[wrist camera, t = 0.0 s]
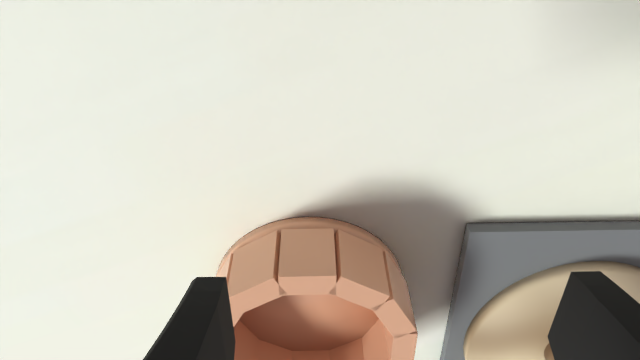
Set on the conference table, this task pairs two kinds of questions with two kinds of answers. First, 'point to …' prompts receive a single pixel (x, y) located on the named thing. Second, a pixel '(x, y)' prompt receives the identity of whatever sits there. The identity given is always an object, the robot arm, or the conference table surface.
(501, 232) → the mat
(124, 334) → the conference table surface
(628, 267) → the lid
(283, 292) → the bowl
